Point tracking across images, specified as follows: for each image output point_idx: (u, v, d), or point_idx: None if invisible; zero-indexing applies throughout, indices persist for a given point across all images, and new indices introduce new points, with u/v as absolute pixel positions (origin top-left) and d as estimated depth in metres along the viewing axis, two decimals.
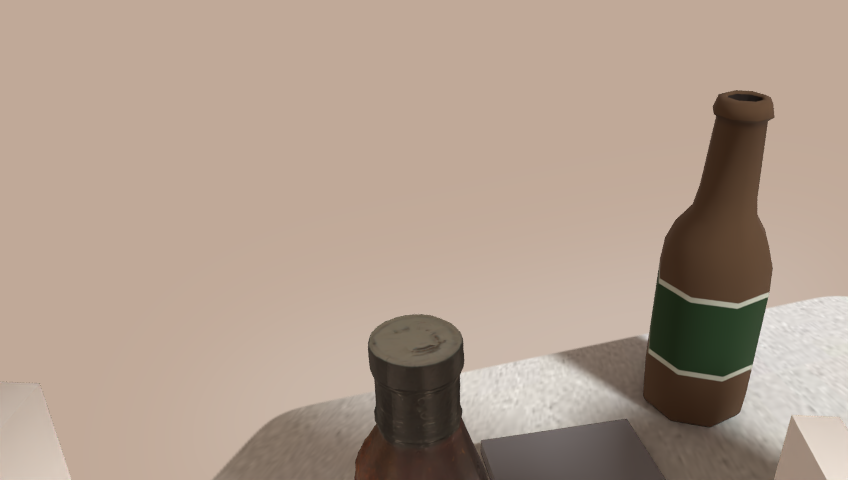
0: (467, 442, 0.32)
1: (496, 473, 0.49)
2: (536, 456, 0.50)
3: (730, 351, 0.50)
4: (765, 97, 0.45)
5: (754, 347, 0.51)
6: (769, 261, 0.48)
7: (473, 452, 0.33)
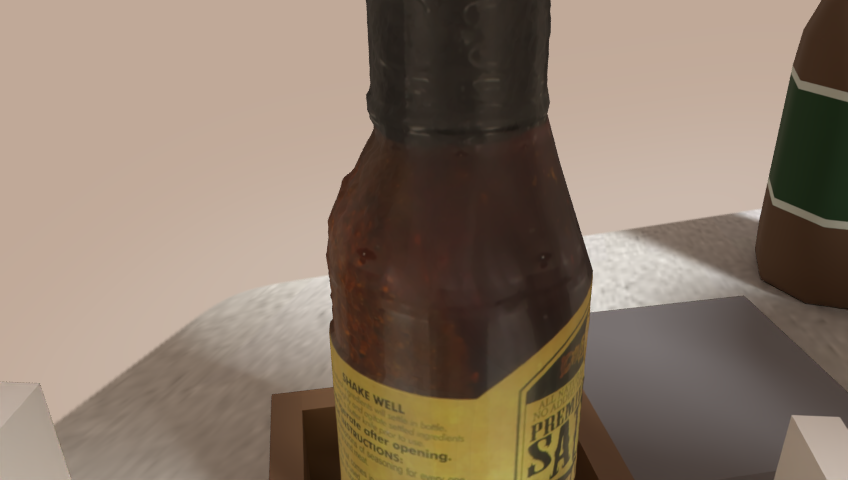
0: (559, 165, 0.15)
1: None
2: (617, 338, 0.33)
3: None
4: None
5: None
6: None
7: (569, 195, 0.16)
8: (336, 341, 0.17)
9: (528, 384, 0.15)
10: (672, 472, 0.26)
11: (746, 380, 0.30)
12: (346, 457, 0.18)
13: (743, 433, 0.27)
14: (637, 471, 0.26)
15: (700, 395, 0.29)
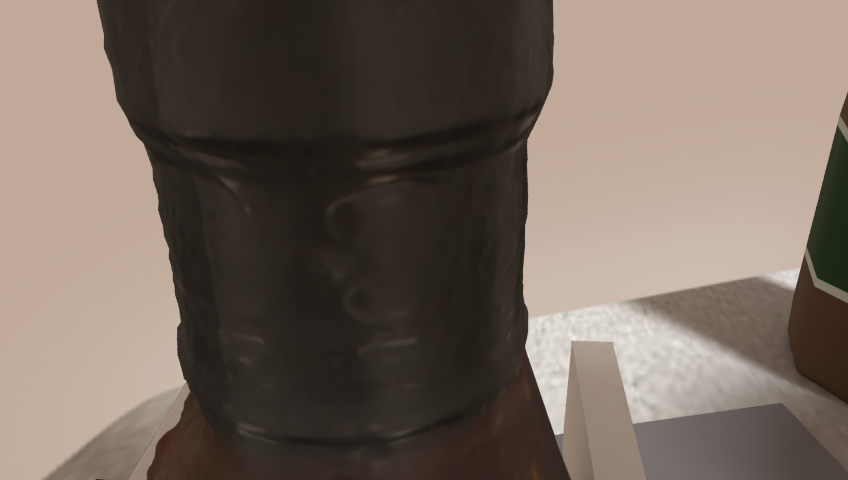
0: (548, 439, 0.08)
1: None
2: None
3: None
4: None
5: None
6: None
7: (565, 477, 0.09)
8: None
9: None
10: None
11: None
12: None
13: None
14: None
15: None
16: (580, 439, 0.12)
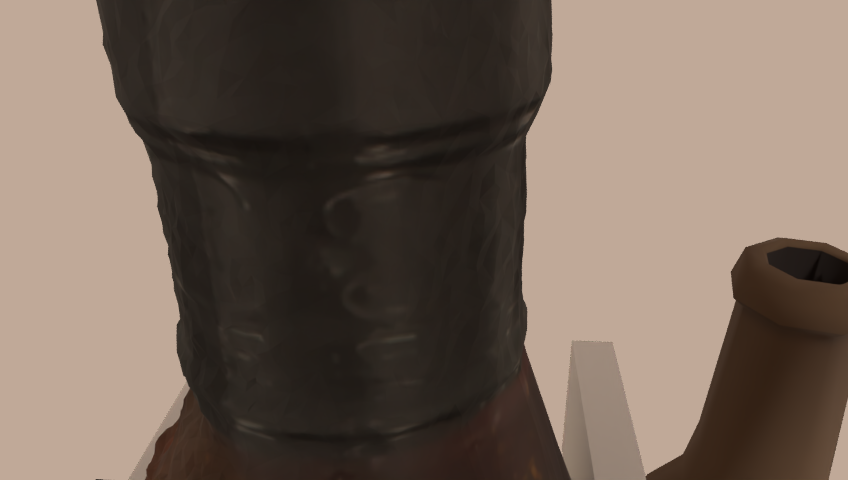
0: (547, 436, 0.08)
1: None
2: None
3: None
4: None
5: None
6: None
7: (564, 474, 0.09)
8: None
9: None
10: None
11: None
12: None
13: None
14: None
15: None
16: (580, 439, 0.12)
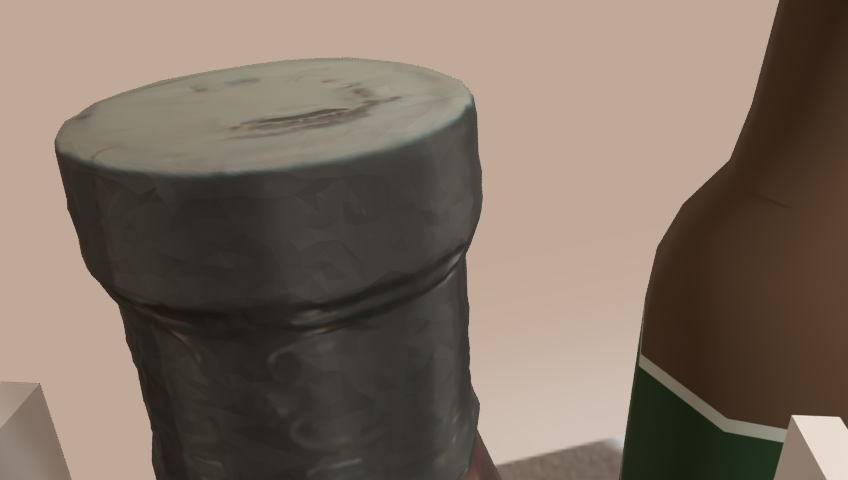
0: None
1: None
2: None
3: None
4: None
5: None
6: None
7: None
8: None
9: None
10: None
11: None
12: None
13: None
14: None
15: None
16: None
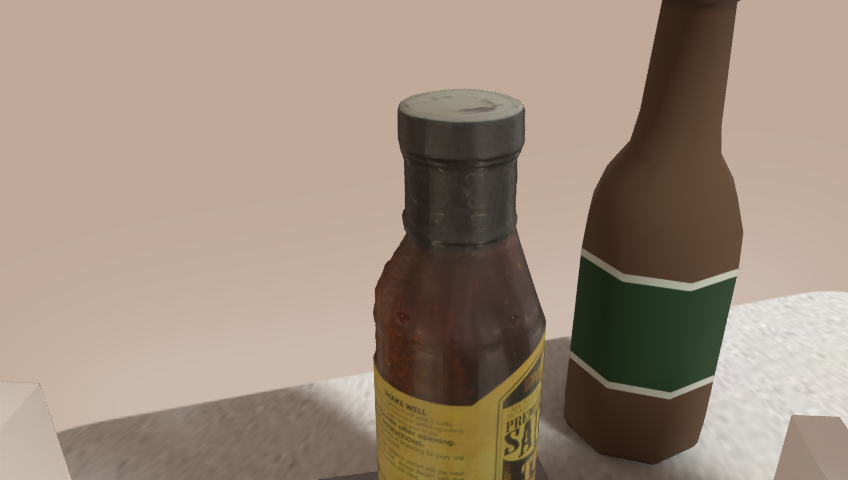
0: (523, 258, 0.24)
1: None
2: None
3: (680, 355, 0.34)
4: None
5: (717, 350, 0.35)
6: (738, 222, 0.33)
7: (530, 275, 0.25)
8: (380, 368, 0.25)
9: (504, 396, 0.24)
10: None
11: None
12: (384, 445, 0.26)
13: None
14: None
15: None
16: None
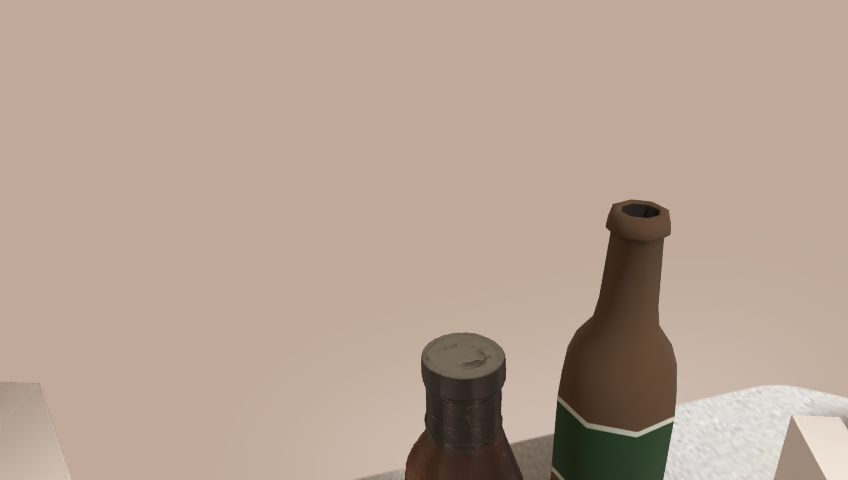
0: (507, 447, 0.36)
1: None
2: None
3: (632, 479, 0.45)
4: (661, 211, 0.41)
5: (662, 472, 0.47)
6: (672, 385, 0.44)
7: (512, 456, 0.36)
8: None
9: None
10: None
11: None
12: None
13: None
14: None
15: None
16: None
